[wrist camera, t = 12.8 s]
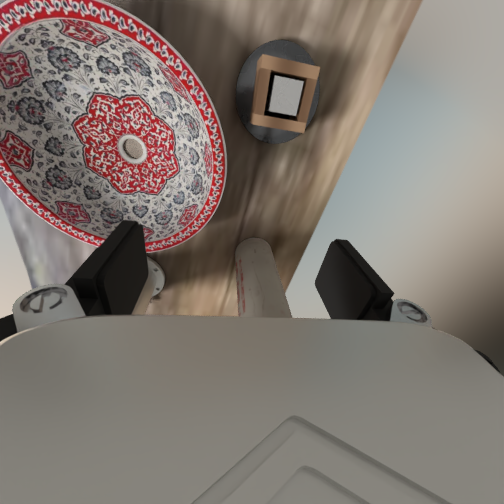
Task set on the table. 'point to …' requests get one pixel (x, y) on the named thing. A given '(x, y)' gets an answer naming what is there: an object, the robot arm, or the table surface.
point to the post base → (249, 89)
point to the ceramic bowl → (105, 123)
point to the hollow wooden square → (288, 70)
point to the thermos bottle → (259, 281)
